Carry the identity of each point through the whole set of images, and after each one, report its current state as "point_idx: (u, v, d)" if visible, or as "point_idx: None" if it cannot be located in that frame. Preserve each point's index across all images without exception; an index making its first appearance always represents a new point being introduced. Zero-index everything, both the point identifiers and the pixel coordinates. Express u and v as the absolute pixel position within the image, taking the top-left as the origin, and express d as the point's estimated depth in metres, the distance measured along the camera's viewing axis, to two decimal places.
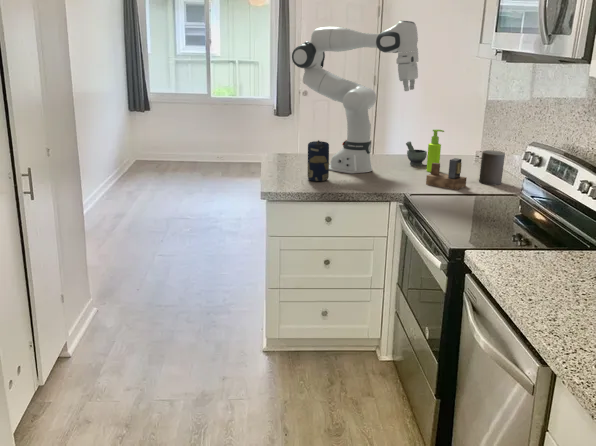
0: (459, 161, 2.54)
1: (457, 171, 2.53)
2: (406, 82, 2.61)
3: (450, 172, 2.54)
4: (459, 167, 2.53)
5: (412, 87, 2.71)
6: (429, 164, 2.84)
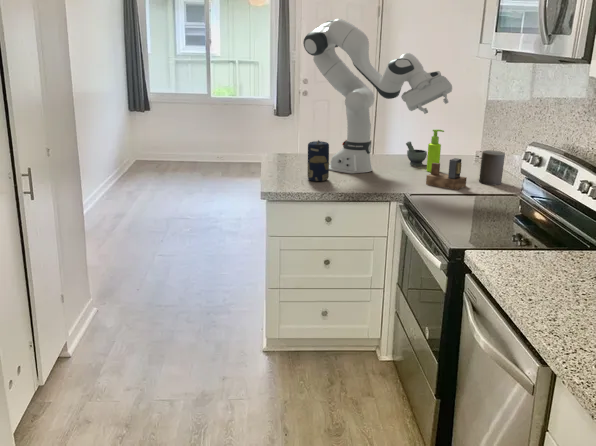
0: (459, 161, 2.54)
1: (457, 171, 2.53)
2: None
3: (450, 172, 2.54)
4: (459, 167, 2.53)
5: None
6: (429, 164, 2.84)
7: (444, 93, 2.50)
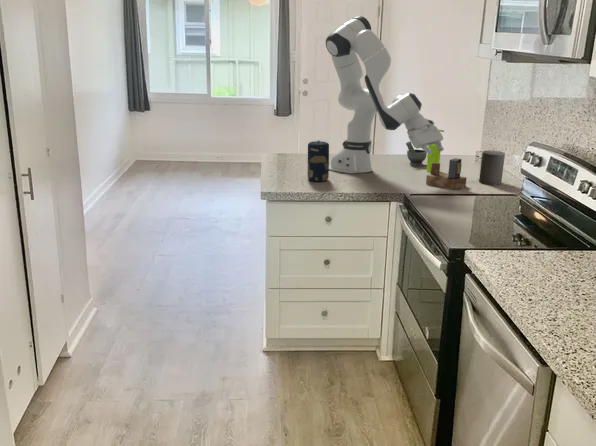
0: (459, 161, 2.54)
1: (457, 171, 2.53)
2: None
3: (450, 172, 2.54)
4: (459, 167, 2.53)
5: None
6: (429, 164, 2.84)
7: (439, 142, 2.62)
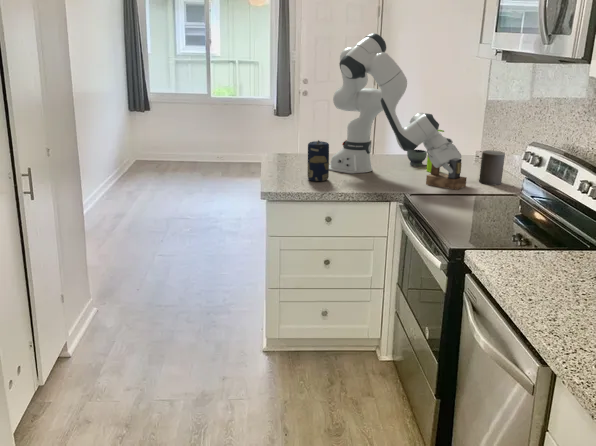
0: (459, 161, 2.54)
1: (457, 171, 2.53)
2: None
3: None
4: (459, 167, 2.53)
5: None
6: (429, 164, 2.84)
7: None
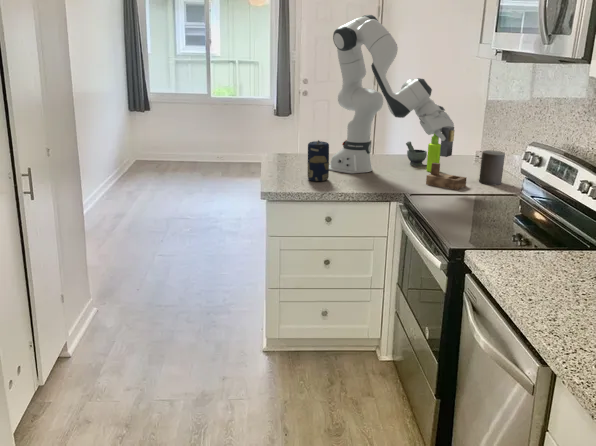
0: (452, 129, 2.46)
1: (450, 139, 2.46)
2: None
3: None
4: (452, 135, 2.45)
5: None
6: (429, 164, 2.84)
7: None
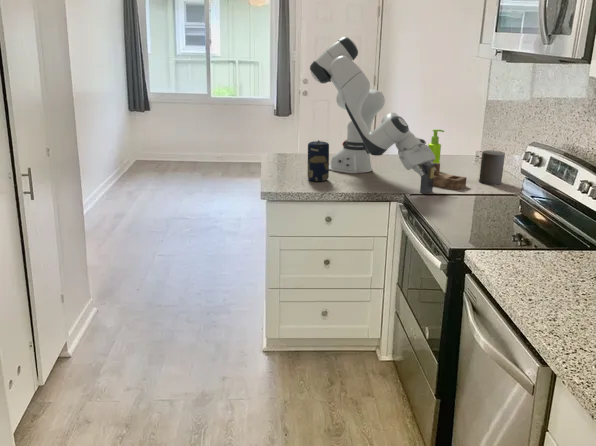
0: (432, 165, 2.44)
1: (430, 176, 2.44)
2: None
3: (423, 177, 2.45)
4: (432, 172, 2.44)
5: None
6: None
7: (431, 162, 2.50)
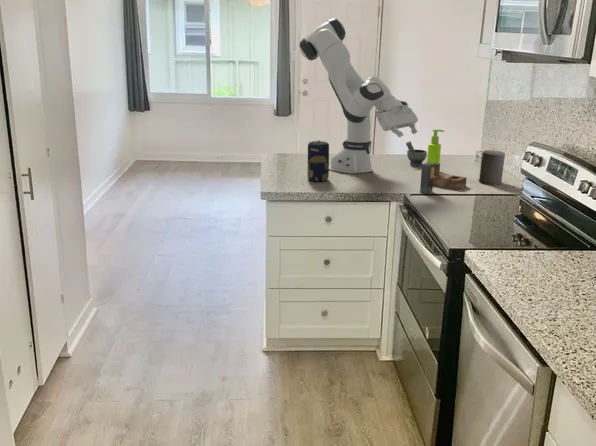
0: (432, 165, 2.44)
1: (430, 176, 2.44)
2: None
3: (422, 177, 2.45)
4: (432, 172, 2.44)
5: None
6: None
7: (412, 123, 2.51)
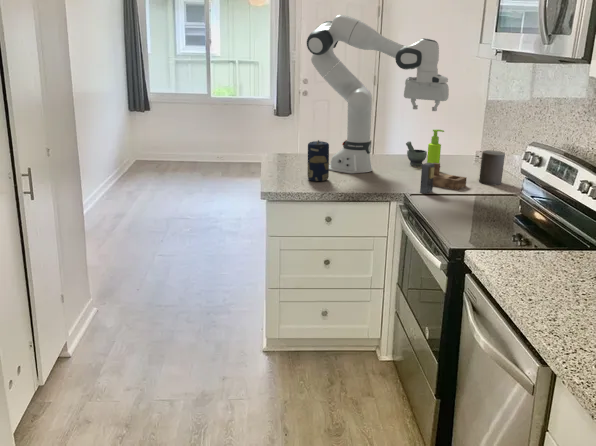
0: (432, 165, 2.44)
1: (430, 176, 2.44)
2: (439, 102, 2.56)
3: (422, 177, 2.45)
4: (432, 172, 2.44)
5: (416, 107, 2.64)
6: None
7: (435, 102, 2.56)
